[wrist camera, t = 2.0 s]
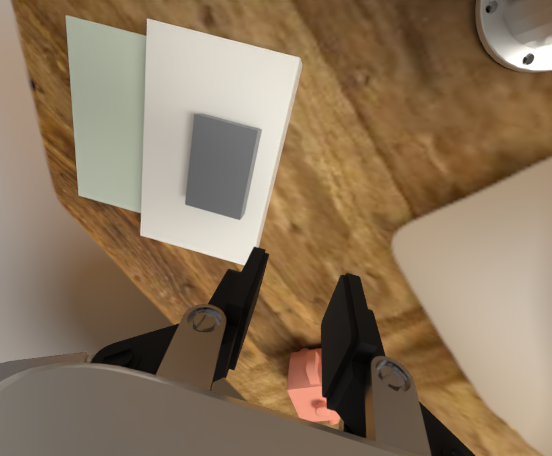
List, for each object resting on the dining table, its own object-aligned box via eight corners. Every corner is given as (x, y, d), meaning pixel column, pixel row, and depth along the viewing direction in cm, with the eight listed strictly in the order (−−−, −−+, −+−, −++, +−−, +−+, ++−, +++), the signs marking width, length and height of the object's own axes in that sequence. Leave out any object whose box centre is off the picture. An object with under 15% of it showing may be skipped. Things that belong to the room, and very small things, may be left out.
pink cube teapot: (309, 391, 45) (308, 446, 38) (286, 337, 41) (280, 386, 34) (356, 386, 43) (364, 443, 36) (337, 328, 39) (342, 379, 32)
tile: (202, 113, 26) (194, 113, 24) (262, 129, 26) (257, 130, 24) (193, 199, 30) (184, 204, 28) (244, 213, 30) (239, 220, 28)
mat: (69, 16, 28) (65, 14, 28) (164, 41, 28) (162, 39, 27) (81, 194, 37) (78, 195, 36) (155, 215, 36) (152, 216, 36)
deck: (169, 31, 27) (147, 18, 24) (302, 65, 27) (300, 57, 23) (158, 223, 37) (140, 235, 33) (257, 251, 36) (250, 267, 32)
